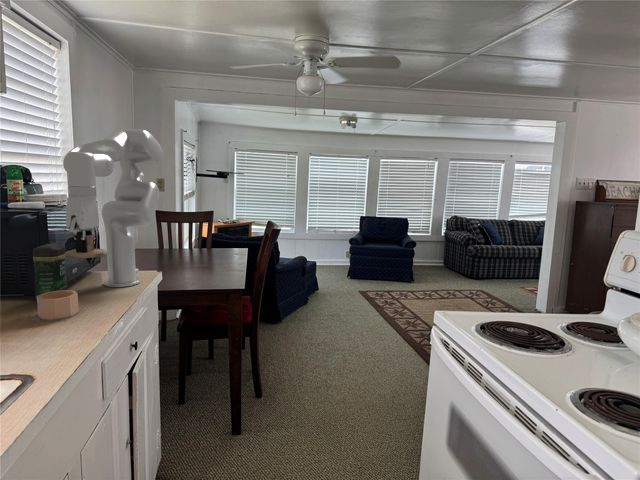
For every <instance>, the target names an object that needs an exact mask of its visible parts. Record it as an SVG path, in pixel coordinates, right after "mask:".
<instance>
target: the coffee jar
mask: <svg viewBox="0 0 640 480" xmlns="http://www.w3.org/2000/svg"><path fill="white" fill-rule="evenodd" d="M50 243H51V244H48V243H47V244H42V245H40V246H36V247H35V248H33V249H32V260H33V265H34V279H35V280H34V282H35V284H34V285H35V290H34V291H35V293H34V294H35V301H36V302H37V296H38V295H41V294H43V293H46V292H52V291H59V290H69V289H68V282H67V271H66V269H67V268H66V247H65V246H64V245H63V244H62V243H59V242H58V243H53V242H50Z"/></svg>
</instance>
